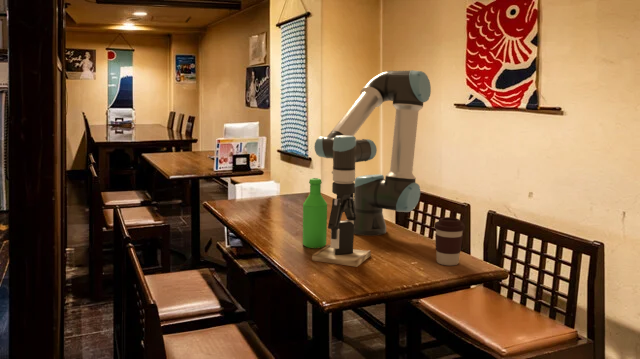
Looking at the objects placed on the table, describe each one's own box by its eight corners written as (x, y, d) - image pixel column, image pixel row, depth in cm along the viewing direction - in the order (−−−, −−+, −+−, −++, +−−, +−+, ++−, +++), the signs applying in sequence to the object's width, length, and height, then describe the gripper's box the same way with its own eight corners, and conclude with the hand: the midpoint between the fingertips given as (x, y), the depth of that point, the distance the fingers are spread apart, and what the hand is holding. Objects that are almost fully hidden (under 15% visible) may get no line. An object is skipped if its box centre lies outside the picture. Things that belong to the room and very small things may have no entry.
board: (328, 249, 207) (328, 244, 207) (370, 255, 201) (370, 250, 200) (312, 260, 194) (312, 254, 194) (356, 266, 188) (357, 261, 188)
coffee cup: (426, 259, 197) (429, 217, 194) (451, 257, 200) (454, 215, 198) (442, 268, 188) (445, 223, 185) (468, 265, 191) (471, 221, 189)
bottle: (299, 247, 209) (300, 179, 205) (306, 241, 217) (306, 176, 213) (323, 249, 207) (324, 181, 203) (328, 243, 215) (330, 177, 211)
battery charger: (349, 251, 200) (350, 219, 199) (354, 254, 197) (354, 221, 195) (330, 252, 198) (331, 220, 196) (334, 255, 195) (335, 222, 193)
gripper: (346, 175, 206) (345, 233, 209) (318, 186, 183) (317, 250, 187) (366, 177, 203) (364, 236, 206) (340, 188, 180) (339, 253, 184)
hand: (342, 243), depth 197 cm, fingers open, 13 cm apart
